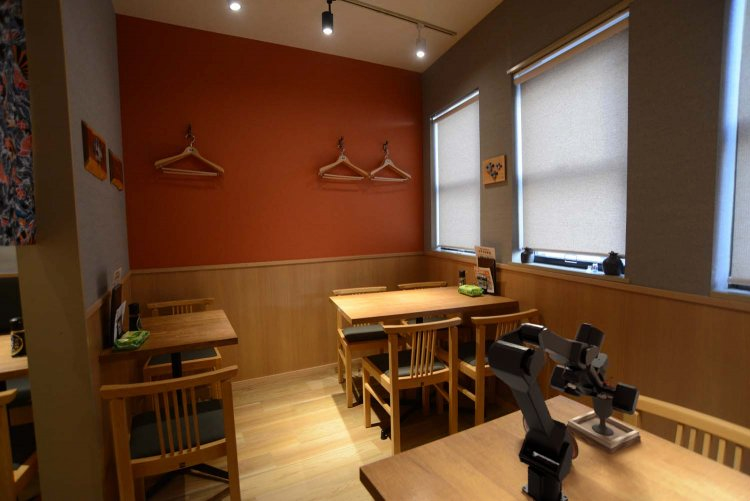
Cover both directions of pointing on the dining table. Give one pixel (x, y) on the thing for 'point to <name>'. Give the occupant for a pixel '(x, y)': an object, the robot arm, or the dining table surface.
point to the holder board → (611, 443)
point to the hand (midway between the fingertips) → (599, 402)
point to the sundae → (603, 412)
